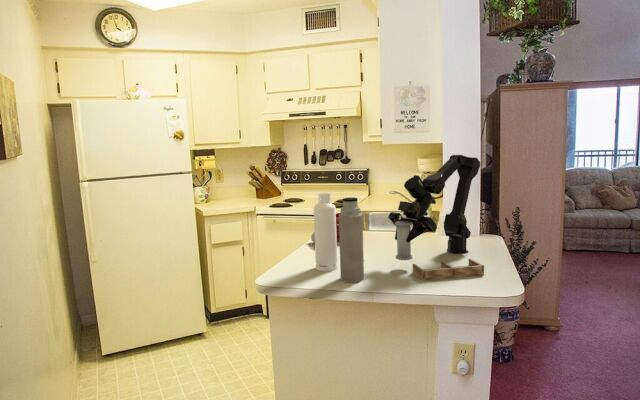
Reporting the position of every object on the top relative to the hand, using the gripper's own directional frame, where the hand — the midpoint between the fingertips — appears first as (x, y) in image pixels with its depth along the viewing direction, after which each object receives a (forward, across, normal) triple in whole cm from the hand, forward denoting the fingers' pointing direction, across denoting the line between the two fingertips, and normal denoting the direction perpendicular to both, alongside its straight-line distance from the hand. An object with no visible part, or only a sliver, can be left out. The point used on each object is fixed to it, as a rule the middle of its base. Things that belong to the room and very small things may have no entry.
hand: (401, 240), depth 159 cm
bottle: (+20, -21, -5) cm, 30 cm away
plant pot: (-5, -50, +20) cm, 55 cm away
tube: (+7, -45, +9) cm, 46 cm away
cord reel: (+4, 0, +6) cm, 7 cm away
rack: (+2, +15, +12) cm, 19 cm away
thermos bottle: (+22, -5, -6) cm, 23 cm away
